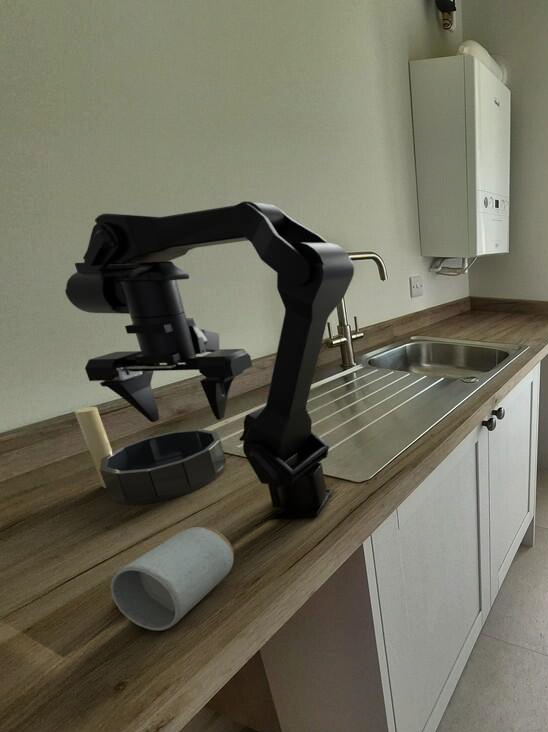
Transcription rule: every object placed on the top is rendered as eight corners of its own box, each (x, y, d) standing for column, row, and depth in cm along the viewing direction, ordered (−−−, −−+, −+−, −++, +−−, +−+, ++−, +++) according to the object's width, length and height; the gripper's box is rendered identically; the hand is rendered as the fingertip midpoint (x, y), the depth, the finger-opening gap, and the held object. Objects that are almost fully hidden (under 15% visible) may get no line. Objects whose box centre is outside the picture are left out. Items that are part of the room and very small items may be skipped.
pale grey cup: (246, 574, 49) (231, 519, 46) (186, 635, 41) (164, 574, 39) (168, 567, 50) (149, 514, 48) (95, 625, 42) (68, 565, 40)
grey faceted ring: (240, 452, 76) (224, 386, 72) (199, 498, 62) (176, 419, 58) (135, 462, 73) (111, 393, 68) (66, 512, 59) (32, 430, 55)
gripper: (260, 305, 64) (278, 398, 69) (133, 307, 62) (162, 402, 67) (216, 316, 53) (242, 426, 58) (63, 319, 52) (103, 431, 57)
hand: (188, 420), depth 60 cm, fingers open, 9 cm apart
